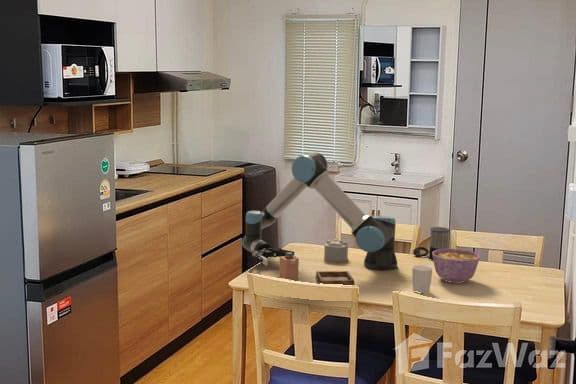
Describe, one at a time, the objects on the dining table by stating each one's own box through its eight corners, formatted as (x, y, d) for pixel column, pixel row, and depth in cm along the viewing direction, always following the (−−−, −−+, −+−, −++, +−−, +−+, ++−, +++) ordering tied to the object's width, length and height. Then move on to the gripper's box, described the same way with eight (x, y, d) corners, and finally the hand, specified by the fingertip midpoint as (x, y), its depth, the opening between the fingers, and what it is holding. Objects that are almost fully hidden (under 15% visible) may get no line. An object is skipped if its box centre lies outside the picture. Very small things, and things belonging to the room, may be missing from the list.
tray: (348, 276, 311) (348, 271, 310) (354, 286, 297) (354, 280, 297) (315, 276, 309) (316, 271, 309) (320, 286, 296) (320, 280, 295)
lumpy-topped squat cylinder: (322, 260, 336) (322, 242, 334) (329, 253, 348) (329, 236, 346) (343, 262, 333) (344, 244, 331) (350, 256, 345) (350, 238, 343)
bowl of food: (447, 271, 323) (449, 246, 321) (487, 281, 309) (489, 255, 307) (421, 279, 309) (422, 253, 307) (461, 290, 295) (463, 263, 293)
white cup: (430, 295, 287) (432, 271, 286) (410, 293, 289) (412, 269, 287) (430, 289, 295) (432, 266, 293) (411, 288, 297) (412, 264, 295)
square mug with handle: (291, 275, 310) (292, 255, 309) (299, 280, 303) (300, 259, 302) (279, 277, 308) (279, 256, 306) (287, 281, 301) (287, 261, 299)
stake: (290, 277, 308) (290, 252, 306) (292, 278, 306) (293, 253, 304) (284, 277, 307) (285, 252, 305) (287, 279, 305) (288, 254, 303)
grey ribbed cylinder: (449, 262, 338) (451, 231, 335) (416, 261, 338) (417, 230, 336) (443, 254, 352) (445, 224, 349) (411, 253, 352) (413, 223, 350)
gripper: (285, 254, 336) (306, 266, 317) (236, 259, 325) (254, 272, 306) (286, 239, 334) (307, 249, 316) (236, 243, 324) (254, 255, 305)
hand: (281, 260), depth 311 cm, fingers open, 13 cm apart
